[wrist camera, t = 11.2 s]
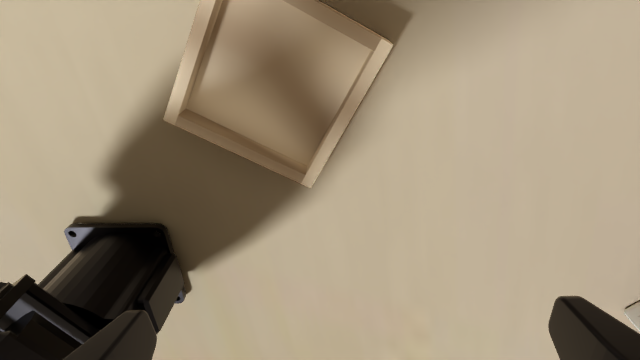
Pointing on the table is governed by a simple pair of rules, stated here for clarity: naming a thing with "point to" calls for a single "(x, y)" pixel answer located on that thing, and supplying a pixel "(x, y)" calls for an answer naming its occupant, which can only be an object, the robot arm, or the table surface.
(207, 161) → the table surface
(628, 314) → the supplement box
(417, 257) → the table surface
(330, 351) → the table surface
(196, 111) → the pale maple socket
